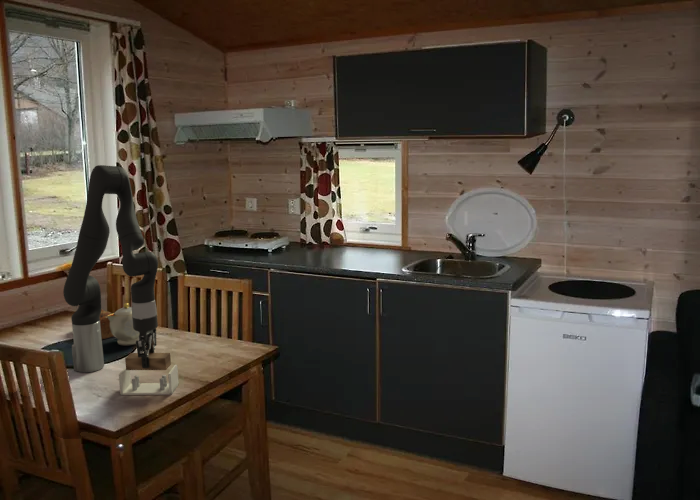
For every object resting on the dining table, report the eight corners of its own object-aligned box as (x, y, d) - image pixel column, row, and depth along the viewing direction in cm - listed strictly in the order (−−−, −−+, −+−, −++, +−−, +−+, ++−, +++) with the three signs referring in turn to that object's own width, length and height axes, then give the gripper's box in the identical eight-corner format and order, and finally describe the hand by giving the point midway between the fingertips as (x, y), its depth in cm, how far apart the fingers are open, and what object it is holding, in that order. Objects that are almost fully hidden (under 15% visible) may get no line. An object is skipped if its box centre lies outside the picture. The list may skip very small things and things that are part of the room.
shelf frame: (120, 395, 205) (118, 374, 203) (128, 385, 212) (127, 365, 211) (172, 394, 205) (170, 373, 203) (178, 384, 212) (177, 364, 211)
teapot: (115, 351, 245) (112, 310, 242) (105, 342, 256) (101, 302, 252) (161, 341, 256) (158, 302, 252) (149, 333, 266) (146, 295, 263)
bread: (120, 335, 264) (118, 312, 262) (95, 341, 257) (93, 318, 255) (101, 326, 277) (99, 304, 275) (76, 331, 270) (74, 309, 268)
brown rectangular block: (170, 364, 209) (170, 352, 209) (166, 370, 204) (165, 358, 204) (131, 364, 210) (130, 352, 209) (126, 370, 205) (125, 358, 204)
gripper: (139, 308, 211) (144, 357, 214) (125, 321, 197) (129, 373, 200) (162, 307, 211) (166, 356, 214) (149, 320, 197) (153, 372, 200)
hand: (148, 364), depth 207 cm, fingers closed on brown rectangular block, 5 cm apart
